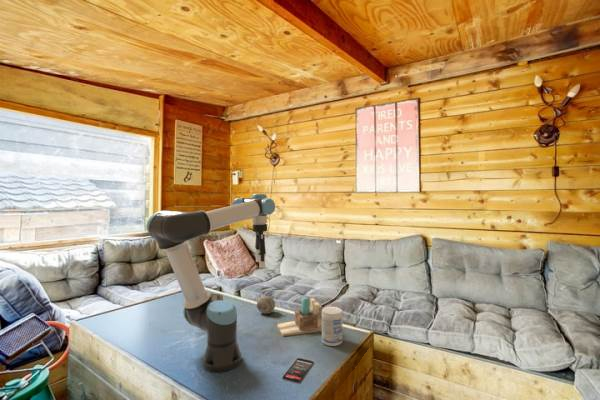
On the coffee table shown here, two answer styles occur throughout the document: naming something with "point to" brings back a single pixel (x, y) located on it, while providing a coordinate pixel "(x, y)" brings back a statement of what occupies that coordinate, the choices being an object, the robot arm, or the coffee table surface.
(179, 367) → the coffee table surface
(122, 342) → the coffee table surface
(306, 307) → the dowel
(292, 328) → the jig
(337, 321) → the supplement tub
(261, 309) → the decorative stone
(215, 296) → the ruin model on sheet
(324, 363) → the coffee table surface
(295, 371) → the smartphone
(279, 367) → the coffee table surface
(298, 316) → the block
